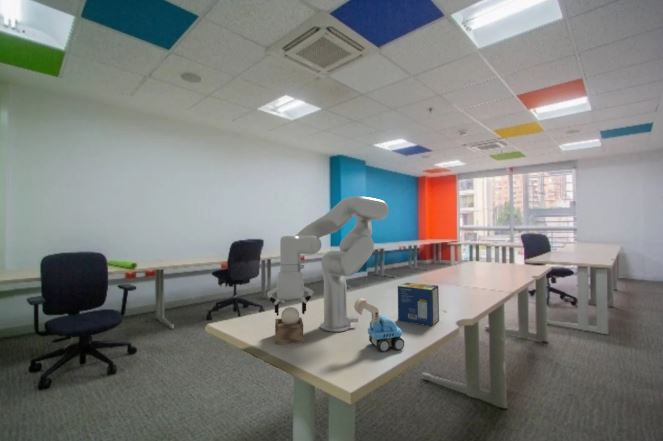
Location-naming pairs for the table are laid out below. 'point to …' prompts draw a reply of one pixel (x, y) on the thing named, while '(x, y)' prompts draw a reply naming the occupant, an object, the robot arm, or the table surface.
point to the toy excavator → (381, 328)
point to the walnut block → (288, 332)
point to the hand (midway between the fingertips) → (290, 314)
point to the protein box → (418, 303)
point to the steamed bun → (290, 316)
